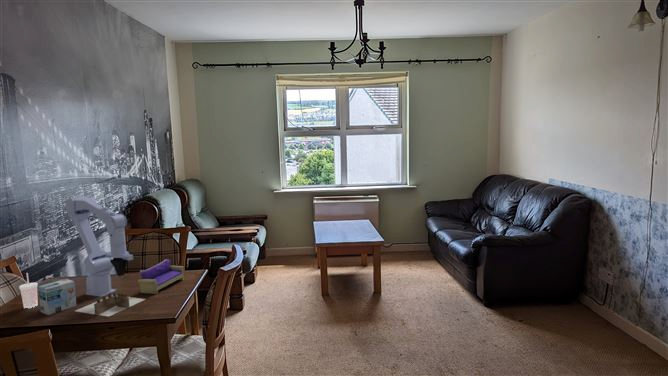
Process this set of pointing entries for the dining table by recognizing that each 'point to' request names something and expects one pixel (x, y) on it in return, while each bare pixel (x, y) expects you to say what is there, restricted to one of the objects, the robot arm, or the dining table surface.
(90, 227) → the robot arm
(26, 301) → the beverage cup
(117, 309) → the card
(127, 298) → the fixed fence rail
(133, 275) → the dining table surface
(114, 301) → the fence flap
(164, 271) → the toy sofa
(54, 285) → the light bulb box
